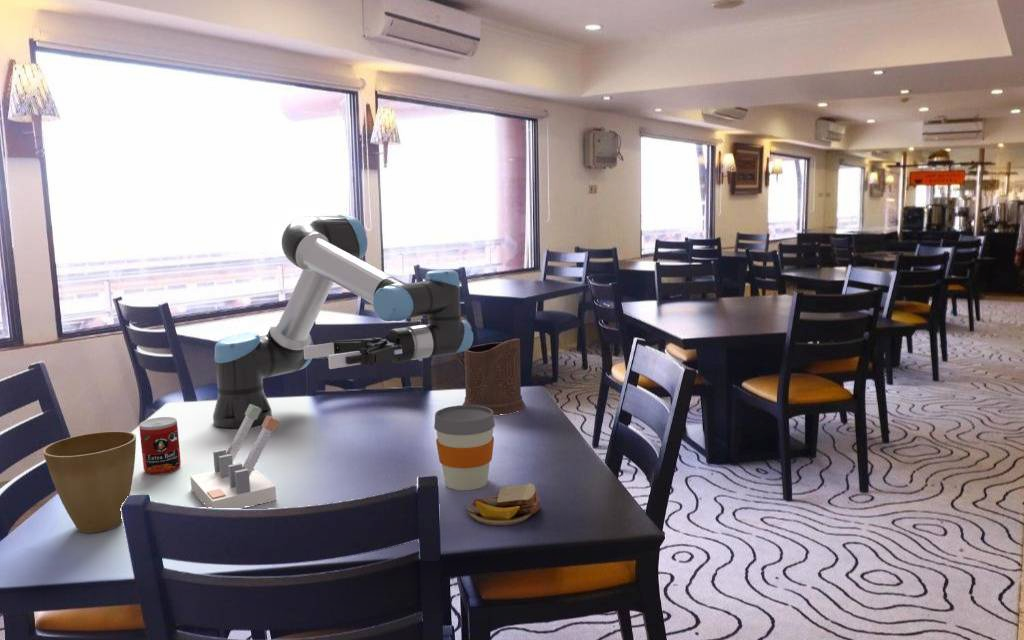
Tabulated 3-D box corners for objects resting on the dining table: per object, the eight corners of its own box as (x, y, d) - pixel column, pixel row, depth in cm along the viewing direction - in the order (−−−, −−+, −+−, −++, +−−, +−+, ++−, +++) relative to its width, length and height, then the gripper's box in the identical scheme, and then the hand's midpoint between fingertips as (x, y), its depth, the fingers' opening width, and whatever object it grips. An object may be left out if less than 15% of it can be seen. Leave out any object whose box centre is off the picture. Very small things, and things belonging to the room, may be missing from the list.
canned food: (144, 477, 164) (139, 429, 163) (143, 466, 171) (138, 419, 170) (182, 471, 168) (178, 423, 166) (179, 460, 175) (175, 414, 173)
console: (191, 489, 157) (188, 455, 156) (249, 476, 164) (247, 443, 163) (213, 516, 143) (210, 479, 142) (276, 500, 150) (273, 465, 149)
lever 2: (232, 483, 149) (266, 414, 151) (241, 486, 150) (275, 418, 153) (235, 486, 147) (270, 417, 149) (244, 489, 148) (279, 421, 151)
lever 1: (216, 468, 158) (249, 403, 160) (225, 471, 159) (258, 407, 161) (219, 471, 156) (253, 406, 158) (228, 474, 157) (261, 409, 159)
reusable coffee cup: (473, 498, 150) (471, 425, 147) (424, 486, 156) (421, 416, 154) (507, 477, 160) (506, 409, 158) (459, 467, 167) (457, 402, 164)
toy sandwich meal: (478, 498, 150) (477, 476, 149) (545, 503, 147) (544, 480, 146) (460, 525, 138) (459, 500, 137) (532, 531, 135) (532, 506, 134)
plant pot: (157, 507, 148) (150, 429, 145) (120, 541, 133) (111, 454, 131) (81, 509, 148) (72, 430, 145) (35, 543, 133) (24, 457, 130)
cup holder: (499, 419, 203) (496, 328, 199) (433, 406, 217) (430, 320, 213) (538, 404, 217) (537, 318, 213) (474, 392, 232) (472, 312, 228)
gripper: (437, 368, 158) (342, 385, 146) (383, 352, 178) (296, 366, 166) (435, 333, 157) (339, 347, 145) (382, 321, 177) (293, 332, 165)
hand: (316, 357), depth 155 cm, fingers open, 13 cm apart
